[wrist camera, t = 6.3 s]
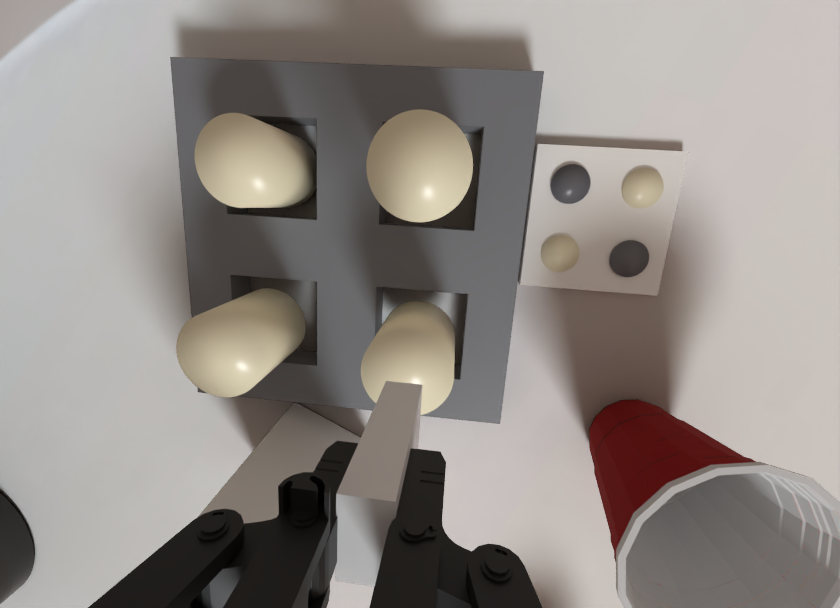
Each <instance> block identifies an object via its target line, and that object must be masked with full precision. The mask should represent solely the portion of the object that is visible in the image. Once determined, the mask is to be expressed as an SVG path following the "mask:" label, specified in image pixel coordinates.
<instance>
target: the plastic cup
mask: <svg viewBox="0 0 840 608" xmlns="http://www.w3.org/2000/svg"><path fill="white" fill-rule="evenodd" d="M590 451H591V455H592V459H593V463H594V467H595V468H594V473H595V476H596V480H597V484H598V488H599V491H600V495H601V499H602V503H603V507H604V510H605V514H606V518H607V522H608V525H609V529H610V533H611V542H612V546H613V549H614V558H615V561H616V589H617V594H618V597H619V599H620V601H621V603H622V604H623V606H624V608H840V502H839V501H838V500H837V499H836V498H835V497H834V496H832V495H831V494H830V493H829V492H828V491H827V490H825V489H824V488H823V487H822V486H821V485H820V484H819V483H817V482H816V481H815V480H814V479H813V478H810V477H807V476H804V475H801V474H798V473H794V472H791V471H788V470H784V469H781V468H778V467H775V466H771V465H768V464H765V463H761V462H756V461H754V460H752V459H749V458H746V457H743V456H742V455H740V454H738V453H737V452H735V451H733V450H732V449H730V448H728V447H726V446H725V445H723V444H721V443H720V442H718V441H716V440H715V439H713V438H711V437H710V436H708V435H706V434H705V433H703V432H701V431H699V430H698V429H696V428H694V427H693V426H691V425H689V424H688V423H686V422H684V421H682V420H679V419H677V418H675V417H674V416H672V415H671V414H669V413H667V412H666V411H664V410H663V409H661V408H660V407H658V406H655V405H652V404H649V403H646V402H643V401H640V400H621V401H619V402H616V403H614V404H611V405H609V406H606V407H605V408H604V409H603V410H602V411H601V412H600V413H599V414H598V415H596V416H595V418H594V421H593V423H592V425H591V427H590Z"/></svg>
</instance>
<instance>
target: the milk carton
mask: <svg viewBox="0 0 840 608" xmlns="http://www.w3.org/2000/svg"><path fill="white" fill-rule="evenodd" d="M360 439H361V437H359V436H357V435H355V434H353V433H351V432H349V431H348V430H346V429H344V428H342V427H340V426H338V425H336V424H335V423H333V422H331V421H329V420H327V419H325V418H324V417H322V416H320V415H318V414H316V413H314V412H312V411H311V410H309V409H307V408H305V407H303V406H301V405H299V404H297V403H293V404H292V405H291V406H290V407H289V409H288V410H287V411H286V412H285V413H284V415H283V416H282V417H281V418H280V419H279V421H278V422H277V423H276V424H275V425H274V427H273V428H272V429H271V430H270V431H269V433H268V434H267V435H266V436H265V437H264V439H263V440H262V441H261V442H260V443H259V444H258V446H257V447H256V448H255V449H254V450H253V452H252V453H251V454H250V455H249V456H248V458H247V459H246V460H245V461H244V462H243V464H242V465H241V466H240V467H239V468H238V470H237V471H236V472H235V473H234V474H233V476H232V477H231V478H230V479H229V480H228V482H227V483H226V484H225V485H224V486H223V488H222V489H221V490H220V491H219V492H218V494H217V495H216V496H215V497H214V498H213V500H212V501H211V502H210V503H209V504H208V505H207V507H206V508H205V509H204V510H203V511H202V513H201V514H200V515H199V516H201V515H202V514H205V513H207V512H210V511H213V510H218V509H231V510H235V511H236V512H238V513H239V514H241V516H242V519H243V521H244V524H245V523H253V522H261V521H266V520H271V519H274V518H276V517H277V516H278V514H279V501H278V486H279V485H280V484H281V483H282V481H283V480H285V479H286V478H288V477H290V476H292V475H295V474H298V473H302V472H313V471H314V470H315V468H316V466H317V464H318V462H319V461H320V459H321V457H322V455H323V454H324V452H325V450H326V449H327V448H328V447H329V446H331V445H332V444H333V443H335V442H336V441H345V442H353V443H359V441H360ZM199 516H198V517H199ZM198 517H197V518H198Z"/></svg>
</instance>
